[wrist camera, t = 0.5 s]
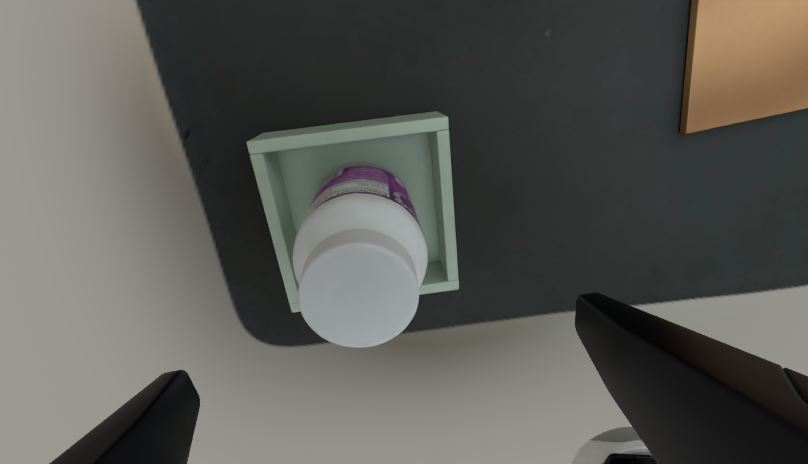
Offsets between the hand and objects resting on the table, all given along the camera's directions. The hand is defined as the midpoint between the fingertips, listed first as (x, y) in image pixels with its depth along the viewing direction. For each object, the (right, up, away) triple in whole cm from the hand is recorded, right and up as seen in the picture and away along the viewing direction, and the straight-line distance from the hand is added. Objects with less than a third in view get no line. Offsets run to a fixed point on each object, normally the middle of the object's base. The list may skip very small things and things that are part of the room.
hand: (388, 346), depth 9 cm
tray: (-2, +4, +13) cm, 14 cm away
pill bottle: (-2, +4, +13) cm, 13 cm away
